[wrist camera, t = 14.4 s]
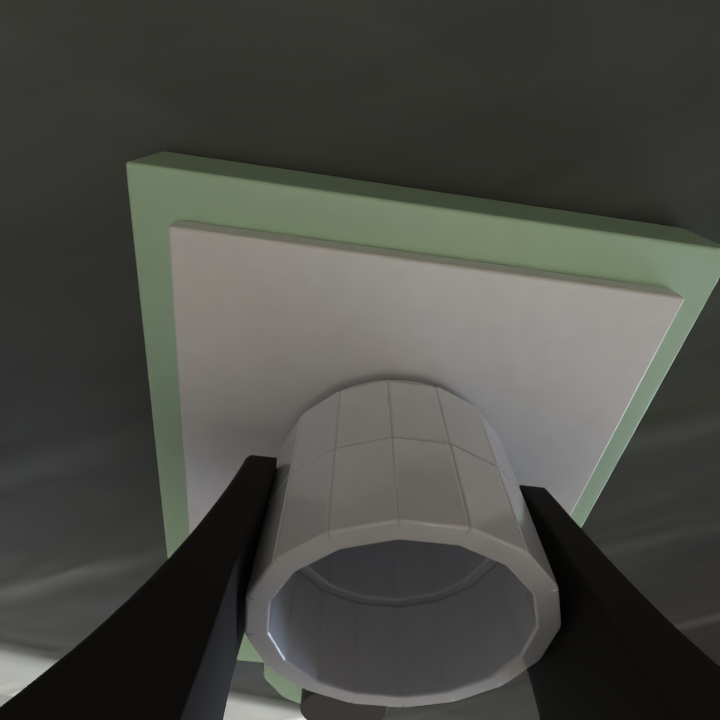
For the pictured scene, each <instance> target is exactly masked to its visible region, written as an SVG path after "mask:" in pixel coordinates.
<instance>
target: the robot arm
mask: <svg viewBox="0 0 720 720" xmlns="http://www.w3.org/2000/svg"><path fill="white" fill-rule="evenodd" d="M276 469H277V458H275V457H266V456H257V455H250V456H248V457H247V458H246V459H245V461H244V462H243V464H242V466H241V467H240V469H239V470H238V472H237V474H236V475H235V477H234V478H233V480H232V481H231V482H230V484H229V485H228V487H227V488H226V489H225V491H224V492H223V494H222V495H221V496H220V498H219V499H218V500H217V502H216V503H215V504H214V505H213V507H212V508H211V509H210V511H209V512H208V513H207V514H206V516H205V517H204V518H203V519H202V521H201V522H200V523H199V524H198V526H197V527H196V528H195V529H194V530H193V532H192V533H191V534H190V535H189V536H188V537H187V538H186V540H185V541H184V542H183V543H182V544H181V545H180V546H179V547H178V549H177V550H176V551H175V552H174V553H173V554H172V555H171V557H170V558H169V559H168V560H167V561H166V562H165V563H164V564H163V565H162V566H161V567H160V568H159V569H158V570H157V572H156V573H155V574H154V575H153V576H152V577H151V578H150V579H149V580H148V581H147V582H146V583H145V584H144V585H143V586H142V587H141V588H140V589H139V590H138V591H137V592H136V593H135V594H134V595H133V596H132V597H131V598H130V599H128V600H127V601H126V602H125V603H124V604H123V605H122V606H121V607H120V608H119V609H118V610H117V611H115V612H114V613H113V614H112V615H111V616H110V617H109V618H108V619H107V620H106V621H105V622H103V623H102V624H101V625H100V626H99V627H98V628H97V629H96V630H95V631H94V632H92V633H91V634H90V635H89V636H88V637H87V638H85V639H84V640H83V641H82V642H81V643H80V644H79V645H77V646H76V647H75V648H74V649H73V650H71V651H70V652H69V653H68V654H67V655H65V656H64V657H63V658H62V659H60V660H59V661H58V662H57V663H55V664H54V665H53V666H52V667H50V668H49V669H48V670H47V671H45V672H44V673H43V674H42V675H40V676H39V677H38V678H37V679H36V680H34V681H33V682H32V683H31V684H29V685H28V686H27V687H26V688H24V689H23V690H22V691H21V692H19V693H18V694H17V695H16V696H14V697H13V698H12V699H10V700H9V701H8V702H6V703H5V704H4V705H3V706H1V707H0V720H223V716H224V712H225V707H226V702H227V697H228V692H229V688H230V683H231V679H232V675H233V671H234V667H235V664H236V660H237V656H238V653H239V650H240V646H241V643H242V639H243V636H244V633H245V596H246V592H247V588H248V584H249V579H250V575H251V571H252V567H253V562H254V558H255V554H256V550H257V546H258V541H259V537H260V533H261V529H262V524H263V521H264V517H265V513H266V509H267V507H268V503H269V499H270V494H271V490H272V486H273V482H274V477H275V473H276ZM519 488H520V490H521V493H522V495H523V498H524V500H525V503H526V505H527V508H528V510H529V513H530V516H531V518H532V521H533V523H534V526H535V528H536V531H537V534H538V536H539V539H540V541H541V544H542V546H543V549H544V552H545V554H546V557H547V559H548V562H549V564H550V567H551V569H552V572H553V575H554V577H555V580H556V582H557V585H558V587H559V598H560V611H561V625H560V629H559V631H558V632H557V634H556V636H555V637H554V639H553V640H552V642H551V644H550V645H549V647H548V649H547V650H546V652H545V653H544V655H543V657H542V658H541V659H540V660H539V661H538V662H536V663H535V664H533V665H532V666H531V667H529V668H528V669H527V671H528V674H529V678H530V681H531V684H532V688H533V692H534V696H535V700H536V704H537V708H538V712H539V717H540V720H720V667H719V666H718V665H717V664H716V663H714V662H713V661H712V660H711V659H710V658H709V657H708V656H707V655H705V654H704V653H703V652H702V651H701V650H700V649H699V648H698V647H697V646H696V645H694V644H693V643H692V642H691V641H690V640H689V639H688V638H687V637H686V636H684V635H683V634H682V633H681V632H680V631H679V630H678V629H677V628H676V627H675V626H674V625H673V624H671V623H670V622H669V621H668V620H667V619H666V618H665V617H664V616H663V615H662V614H661V613H660V612H659V611H658V610H657V609H656V608H655V607H654V606H653V605H652V604H651V603H650V602H649V601H648V600H647V599H646V598H645V597H644V596H643V595H642V594H641V593H640V592H639V591H638V590H637V589H636V588H635V587H634V586H633V585H632V584H631V583H630V582H629V581H628V580H627V578H626V577H625V576H624V575H623V574H622V573H621V572H620V571H619V570H618V569H617V568H616V567H615V566H614V565H613V564H612V562H611V561H610V560H609V559H608V558H607V557H606V556H605V555H604V554H603V553H602V552H601V550H600V549H599V548H598V547H597V546H596V545H595V544H594V543H593V541H592V540H591V539H590V538H589V537H588V536H587V535H586V534H585V532H584V531H583V530H582V529H581V528H580V527H579V526H578V525H577V523H576V522H575V521H574V520H573V519H572V518H571V517H570V515H569V514H568V513H567V512H566V511H565V510H564V509H563V507H562V506H561V505H560V504H559V503H558V502H557V501H556V500H555V498H554V497H553V496H552V495H551V494H550V493H549V492H548V491H547V490H546V489H545V488H544V487H535V486H526V485H520V486H519Z"/></svg>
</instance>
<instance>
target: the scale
mask: <svg viewBox="0 0 720 720" xmlns="http://www.w3.org/2000/svg"><path fill="white" fill-rule="evenodd" d="M126 171H127V181H128V190H129V199H130V209H131V218H132V228H133V237H134V246H135V256H136V265H137V275H138V284H139V293H140V303H141V312H142V322H143V331H144V340H145V350H146V359H147V369H148V378H149V387H150V397H151V406H152V416H153V425H154V434H155V444H156V453H157V463H158V472H159V482H160V491H161V500H162V510H163V519H164V529H165V538H166V547H167V557H168V559H169V558H170V557H171V555H172V554H173V553H174V552H175V551H176V550H177V549H178V547H179V546H180V545H181V544H182V543H183V542H184V541H185V540H186V538H187V537H188V536H189V535H190V534H191V533H192V532H193V530H194V529H195V528H196V527H197V526H198V524H199V523H200V522H201V521H202V519H203V518H204V517H205V516H206V514H207V513H208V512H209V511H210V509H211V508H212V507H213V505H214V504H215V503H216V502H217V500H218V499H219V498H220V496H221V495H222V494H223V492H224V491H225V489H226V488H227V487H228V485H229V484H230V482H231V481H232V480H233V478H234V477H235V475H236V474H237V472H238V470H239V469H240V467H241V466H242V464H243V462H244V461H245V459H246V458H247V457H248V456H250V455H257V456H266V457H275V458H277V462H278V457H279V453H280V449H281V446H282V444H283V443H284V441H285V439H286V438H287V436H288V435H289V433H290V432H291V430H292V429H293V427H294V426H295V424H296V423H297V421H298V419H299V418H300V417H301V416H302V414H303V413H305V412H306V411H308V410H309V409H311V408H312V407H314V406H316V405H317V404H319V403H320V402H322V401H323V400H325V399H327V398H328V397H330V396H331V395H333V394H334V393H336V392H338V391H341V390H343V389H346V388H348V387H351V386H354V385H357V384H361V383H365V382H370V381H376V380H390V379H397V380H410V381H415V382H421V383H425V384H428V385H431V386H434V387H439V388H441V389H443V390H445V391H447V392H449V393H451V394H453V395H454V396H456V397H458V398H460V399H462V400H464V401H466V402H468V403H470V404H472V405H474V406H475V407H476V408H478V409H479V410H480V412H481V413H482V414H483V416H484V417H485V418H486V420H487V421H488V422H489V423H490V425H491V426H492V427H493V429H494V430H495V431H496V432H497V434H498V435H499V436H500V439H501V441H502V444H503V446H504V449H505V452H506V454H507V457H508V459H509V462H510V464H511V467H512V470H513V472H514V475H515V477H516V480H517V482H518V485H519V486H520V485H526V486H535V487H544V488H545V489H546V490H547V491H548V492H549V493H550V494H551V495H552V496H553V497H554V498H555V500H556V501H557V502H558V503H559V504H560V505H561V506H562V507H563V509H564V510H565V511H566V512H567V513H568V514H569V515H570V517H571V518H572V519H573V520H574V521H575V522H576V523H577V525H578V526H579V527H580V528H582V526H583V524H584V522H585V520H586V518H587V517H588V515H589V513H590V511H591V509H592V508H593V506H594V504H595V502H596V500H597V499H598V497H599V495H600V493H601V491H602V489H603V488H604V486H605V484H606V482H607V480H608V479H609V477H610V475H611V473H612V471H613V470H614V468H615V466H616V464H617V462H618V461H619V459H620V457H621V455H622V453H623V451H624V450H625V448H626V446H627V444H628V442H629V441H630V439H631V437H632V435H633V433H634V432H635V430H636V428H637V426H638V424H639V422H640V421H641V419H642V417H643V415H644V413H645V412H646V410H647V408H648V406H649V404H650V403H651V401H652V399H653V397H654V395H655V394H656V392H657V390H658V388H659V386H660V384H661V383H662V381H663V379H664V377H665V375H666V374H667V372H668V370H669V368H670V366H671V365H672V363H673V361H674V359H675V357H676V355H677V354H678V352H679V350H680V348H681V346H682V345H683V343H684V341H685V339H686V337H687V336H688V334H689V332H690V330H691V328H692V327H693V325H694V323H695V321H696V319H697V317H698V316H699V314H700V312H701V310H702V308H703V307H704V305H705V303H706V301H707V299H708V298H709V296H710V294H711V292H712V290H713V288H714V287H715V285H716V283H717V281H718V279H719V278H720V244H717V243H715V242H713V241H710V240H708V239H706V238H703V237H701V236H699V235H696V234H694V233H692V232H689V231H687V230H685V229H683V228H679V227H672V226H666V225H659V224H652V223H645V222H639V221H632V220H625V219H618V218H612V217H605V216H598V215H591V214H585V213H578V212H571V211H564V210H558V209H551V208H544V207H537V206H531V205H524V204H517V203H510V202H504V201H497V200H490V199H483V198H477V197H470V196H463V195H456V194H450V193H443V192H436V191H429V190H423V189H416V188H409V187H402V186H396V185H389V184H382V183H375V182H369V181H362V180H355V179H348V178H342V177H335V176H328V175H322V174H315V173H308V172H301V171H295V170H288V169H281V168H274V167H268V166H261V165H254V164H247V163H241V162H234V161H227V160H220V159H214V158H207V157H200V156H193V155H187V154H180V153H173V152H166V151H163V152H159V153H156V154H153V155H149V156H146V157H143V158H139V159H136V160H133V161H129V162H127V163H126Z"/></svg>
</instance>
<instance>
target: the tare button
mask: <svg viewBox="0 0 720 720" xmlns="http://www.w3.org/2000/svg"><path fill="white" fill-rule="evenodd" d="M300 709H301V713H302V715H303V716H304V717H305V718H306V719H307V720H382V719H383V718H384V717H385V715H386V712H387V706H378V705H365V704H353V703H352V702H351V703H348V702H345V701H341V700H338V699H335V698H331V697H328V696H325V695H321V694H318V693H315V692H311V691H308V690H305V689H304V688H302V694H301V704H300Z"/></svg>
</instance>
